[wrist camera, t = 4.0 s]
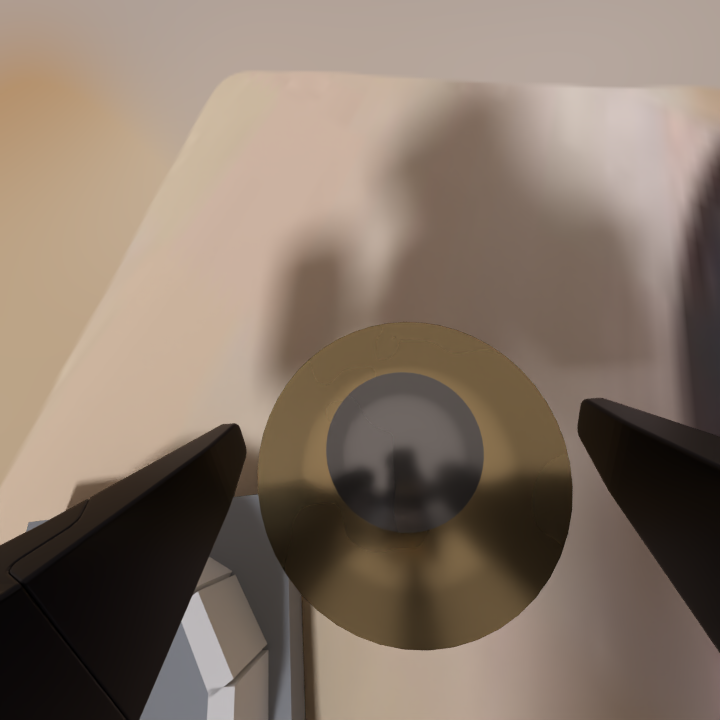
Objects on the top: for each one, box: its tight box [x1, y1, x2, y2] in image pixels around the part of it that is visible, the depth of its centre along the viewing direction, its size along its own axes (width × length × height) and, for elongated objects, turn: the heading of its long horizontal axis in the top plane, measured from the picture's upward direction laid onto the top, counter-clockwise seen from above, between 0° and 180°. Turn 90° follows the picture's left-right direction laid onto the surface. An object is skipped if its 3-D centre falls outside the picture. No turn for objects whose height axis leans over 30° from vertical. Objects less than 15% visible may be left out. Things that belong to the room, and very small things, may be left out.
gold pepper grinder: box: [257, 322, 573, 650], centre depth 10 cm, size 7×7×12 cm
